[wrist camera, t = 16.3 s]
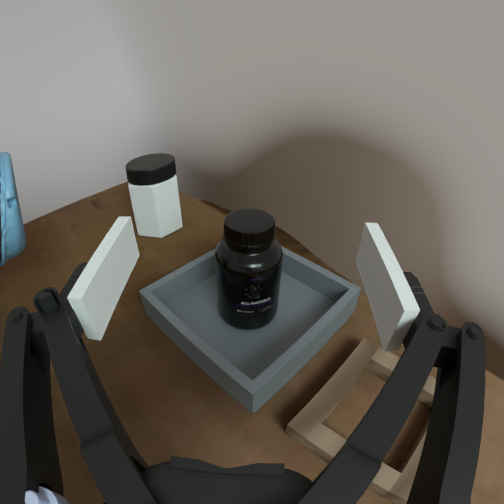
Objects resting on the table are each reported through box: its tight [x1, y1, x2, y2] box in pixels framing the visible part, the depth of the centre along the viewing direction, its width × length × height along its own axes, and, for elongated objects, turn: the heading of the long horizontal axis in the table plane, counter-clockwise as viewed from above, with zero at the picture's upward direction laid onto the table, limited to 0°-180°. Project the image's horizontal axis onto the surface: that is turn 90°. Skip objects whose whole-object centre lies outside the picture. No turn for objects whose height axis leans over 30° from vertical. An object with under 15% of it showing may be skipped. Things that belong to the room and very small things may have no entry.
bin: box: [139, 246, 361, 414], centre depth 35 cm, size 18×18×4 cm
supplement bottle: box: [215, 208, 283, 330], centre depth 33 cm, size 7×7×12 cm
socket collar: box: [285, 338, 436, 504], centre depth 24 cm, size 13×13×2 cm
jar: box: [126, 153, 183, 238], centre depth 50 cm, size 9×8×12 cm
